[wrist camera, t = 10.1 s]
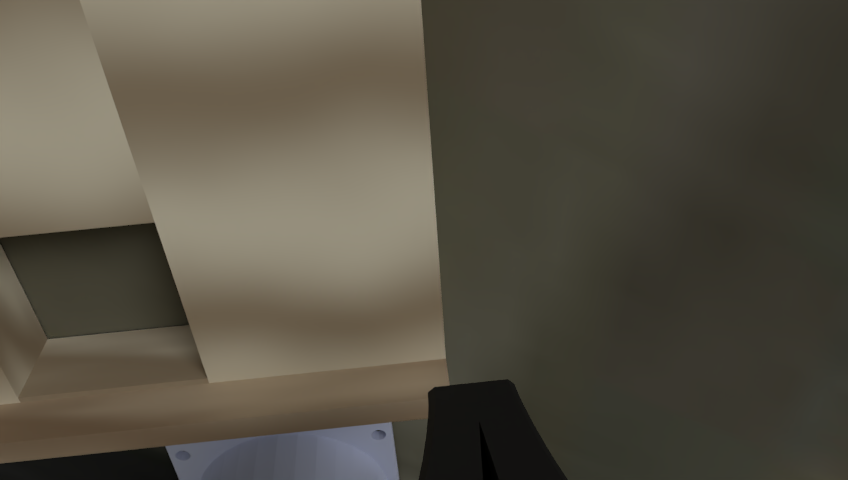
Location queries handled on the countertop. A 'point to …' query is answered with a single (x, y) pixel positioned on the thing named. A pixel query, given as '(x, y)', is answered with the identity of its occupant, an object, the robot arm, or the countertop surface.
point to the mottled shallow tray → (223, 216)
